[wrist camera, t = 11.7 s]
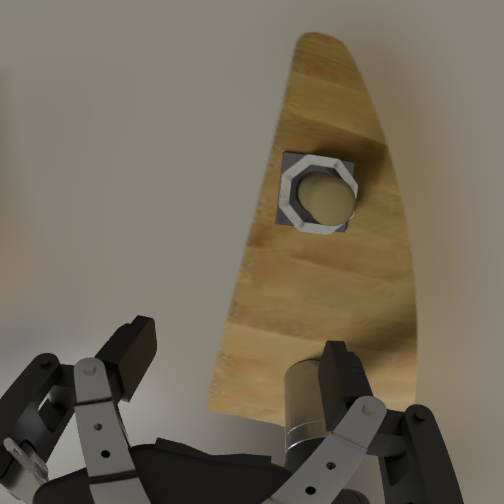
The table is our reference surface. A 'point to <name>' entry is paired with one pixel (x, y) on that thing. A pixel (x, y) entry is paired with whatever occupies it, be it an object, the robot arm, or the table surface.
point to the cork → (326, 198)
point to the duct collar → (290, 176)
